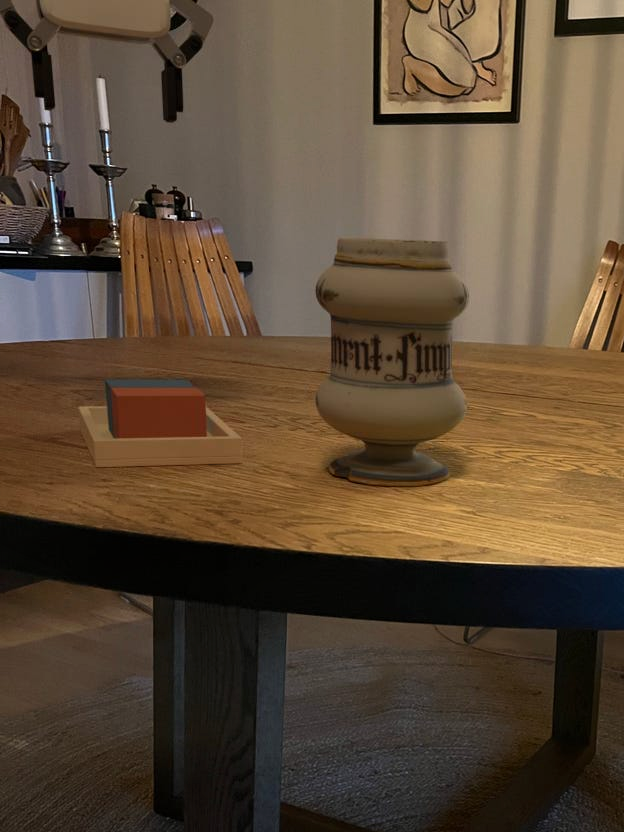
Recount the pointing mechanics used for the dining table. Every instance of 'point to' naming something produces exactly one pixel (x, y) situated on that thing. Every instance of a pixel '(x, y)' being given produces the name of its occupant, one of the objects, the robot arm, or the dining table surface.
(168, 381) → the blue-gray block
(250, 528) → the dining table surface
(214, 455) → the wooden tray
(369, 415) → the apothecary jar
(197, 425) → the red block
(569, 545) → the dining table surface
